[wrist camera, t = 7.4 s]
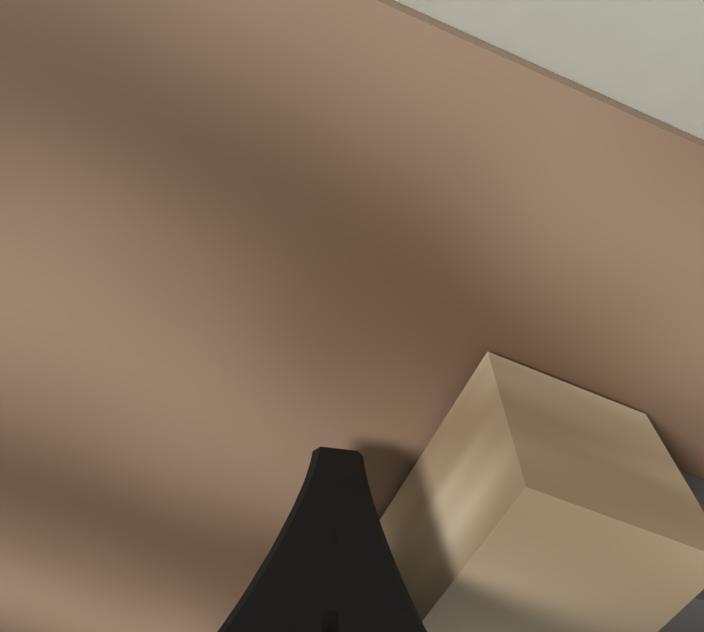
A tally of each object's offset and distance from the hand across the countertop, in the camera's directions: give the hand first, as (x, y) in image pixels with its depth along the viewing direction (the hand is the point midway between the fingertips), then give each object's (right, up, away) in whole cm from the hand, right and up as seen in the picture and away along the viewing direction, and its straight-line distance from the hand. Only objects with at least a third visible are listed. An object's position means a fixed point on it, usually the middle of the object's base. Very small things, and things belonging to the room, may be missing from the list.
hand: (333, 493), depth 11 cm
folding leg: (0, -5, +4) cm, 6 cm away
